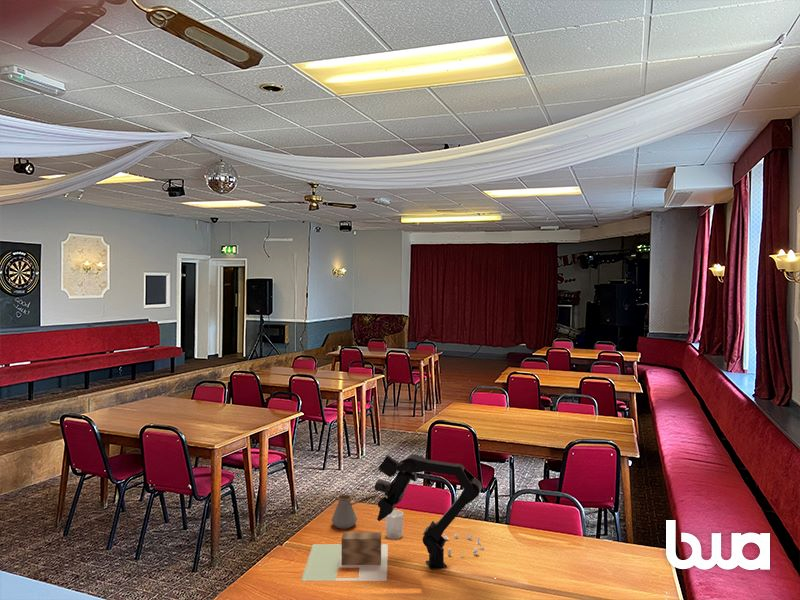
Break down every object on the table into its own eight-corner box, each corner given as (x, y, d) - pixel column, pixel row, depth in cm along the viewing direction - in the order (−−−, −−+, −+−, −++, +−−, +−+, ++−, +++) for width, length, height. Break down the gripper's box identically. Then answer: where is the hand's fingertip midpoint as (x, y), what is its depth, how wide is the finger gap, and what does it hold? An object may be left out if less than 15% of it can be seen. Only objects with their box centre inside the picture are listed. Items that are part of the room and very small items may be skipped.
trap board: (387, 547, 242) (387, 544, 242) (386, 584, 212) (386, 580, 212) (312, 547, 242) (312, 544, 241) (301, 584, 212) (301, 580, 211)
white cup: (395, 541, 248) (395, 518, 247) (381, 536, 252) (381, 513, 252) (406, 535, 254) (407, 512, 254) (392, 530, 259) (392, 508, 258)
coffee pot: (328, 529, 260) (328, 496, 259) (335, 519, 271) (335, 487, 271) (374, 533, 255) (374, 499, 255) (380, 523, 267) (380, 490, 266)
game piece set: (492, 553, 237) (492, 544, 237) (448, 562, 230) (448, 552, 230) (469, 534, 256) (469, 526, 255) (428, 542, 248) (428, 533, 248)
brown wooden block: (381, 557, 230) (381, 532, 229) (380, 564, 224) (380, 539, 223) (342, 557, 230) (342, 532, 229) (341, 564, 224) (341, 539, 223)
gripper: (389, 465, 241) (372, 496, 243) (376, 479, 223) (357, 513, 225) (412, 480, 238) (394, 511, 241) (400, 496, 220) (381, 529, 223)
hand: (381, 516), depth 232 cm, fingers open, 9 cm apart
